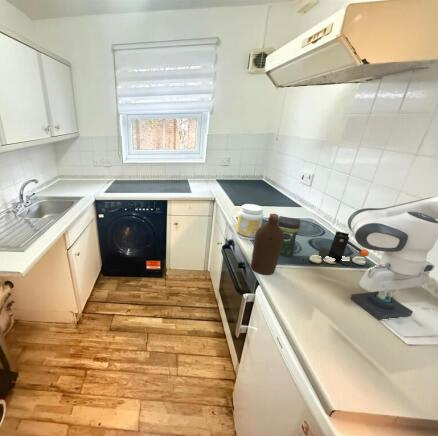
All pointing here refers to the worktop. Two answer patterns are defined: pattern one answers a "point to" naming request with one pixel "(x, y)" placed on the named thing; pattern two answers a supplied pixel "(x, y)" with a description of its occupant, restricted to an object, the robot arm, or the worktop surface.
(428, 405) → the worktop surface
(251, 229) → the supplement tub
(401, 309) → the button housing
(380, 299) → the button
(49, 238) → the worktop surface
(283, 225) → the coffee jar
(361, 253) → the switch
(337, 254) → the switch bracket
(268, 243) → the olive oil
